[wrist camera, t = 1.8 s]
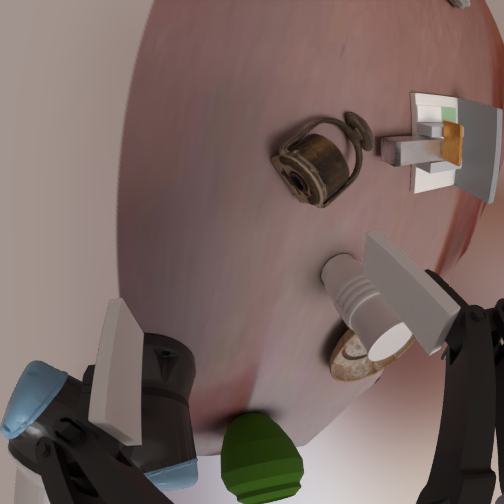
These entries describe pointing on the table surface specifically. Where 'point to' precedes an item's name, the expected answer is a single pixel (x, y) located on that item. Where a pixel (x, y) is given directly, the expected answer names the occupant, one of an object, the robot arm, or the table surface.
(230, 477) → the vase
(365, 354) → the ceramic bowl
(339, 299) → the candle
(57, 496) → the robot arm
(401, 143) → the grey metal bar
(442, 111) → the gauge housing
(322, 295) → the table surface
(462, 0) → the stone
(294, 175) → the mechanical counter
